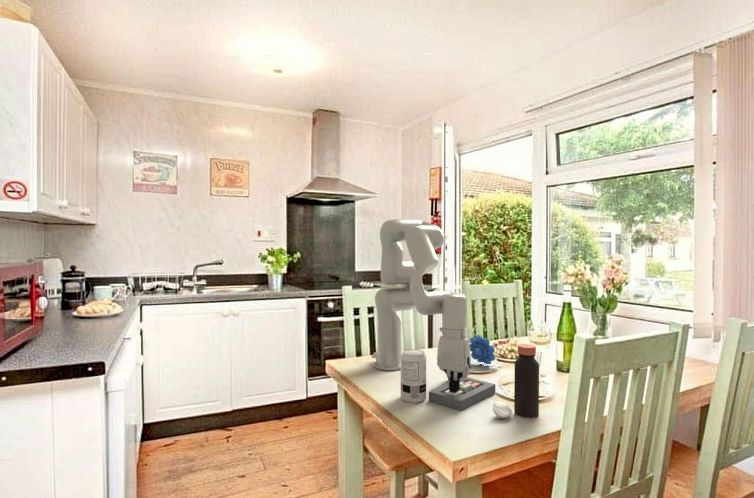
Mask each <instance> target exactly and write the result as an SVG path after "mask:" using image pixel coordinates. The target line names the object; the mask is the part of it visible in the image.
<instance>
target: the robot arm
mask: <svg viewBox="0 0 754 498" xmlns="http://www.w3.org/2000/svg"><path fill="white" fill-rule="evenodd" d="M379 237H380V238H379V239H380V245H381V263H380V280H381V282H382V284H384V285H388V286H393V285H395V286H396V287H395V286H394V287H384V288H381V289H379V290H377V291H376V293H375V295H374V301H375V302H374V304H375V309H376V316H377V318H376V319H377V351H375V352H374V353H373V354H372V355H371V358H372V359H375V361H374V363H373V367H374V368H375V369H378V370H381V371H399V370H400V371H401V355H402V321H401V319H400V317H399V316H398V314H397V312H399V311H411V310H414V309H416V311H417V312H418V313H419V314H420V315H423V316H430V315H441V327H439V329H438V330H439V332H441V335H440V336H439V339H438V345H437V353H436V364H437V367H438V368H439V370H440V371H442V372H444V373H445V374H446V378H447V380H448V379H449V380H448V383H449V391H450V392H453V393H455V392H458V391H459V389H460V379H461V378H462V377H463V376H467V377H468V376H470V375H471V372H470V371H471V370H470V369H471V367H472V366H471V365H472V356H471V351H470V346H469V344H470V340H469V338H467V297H466V296H465V295H464V294H463V293H456V292H453V291H451V290H432V291H431V290H430V291H426V290H425V288H424V287H425V286H424V284H423V276H424V275H425V274H428V273H430V272H432V271H433V270H434V269H436V268H437V266H438V265H439V259H438V257H437V254H436V252H435V249H436V250H437V249H439V248H441V247H442V246H443V245H444V241H445V238H444V237H445V236H444V233H443V231H442V228H440V227H439V226H438V225H436V224H433V223H430V222H428V221H426V220H423V219H404V218H402V219H398V218H396V219H388V220H385V221H384V222H383V223H382V225H381V226H380V230H379ZM400 242H402V243H403V242H404V243H405V244H406V246H407V247H406V248H407V250H408V253H409V256H410V258H411V260H404V249H403V246H402V245H401V243H400ZM397 285H402V286H397Z"/></svg>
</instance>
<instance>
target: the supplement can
mask: <svg viewBox="0 0 754 498" xmlns="http://www.w3.org/2000/svg"><path fill="white" fill-rule="evenodd" d="M400 398H401V399H402V400H403V401H404V402H407V403H413V404H415V403H416V404H418V403H422V402H424V401H425V399H427V355H426V354H425V351H423V350H421V349H420V350H419V349H406V350H403V351H402V352H401V369H400Z"/></svg>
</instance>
